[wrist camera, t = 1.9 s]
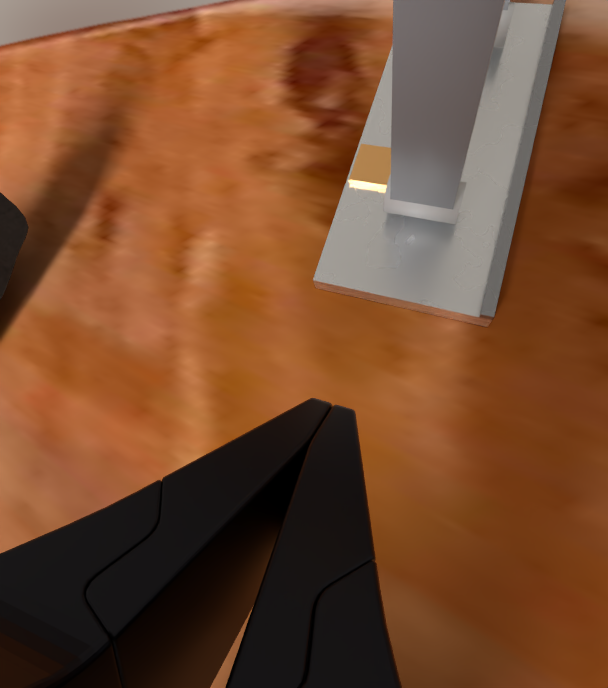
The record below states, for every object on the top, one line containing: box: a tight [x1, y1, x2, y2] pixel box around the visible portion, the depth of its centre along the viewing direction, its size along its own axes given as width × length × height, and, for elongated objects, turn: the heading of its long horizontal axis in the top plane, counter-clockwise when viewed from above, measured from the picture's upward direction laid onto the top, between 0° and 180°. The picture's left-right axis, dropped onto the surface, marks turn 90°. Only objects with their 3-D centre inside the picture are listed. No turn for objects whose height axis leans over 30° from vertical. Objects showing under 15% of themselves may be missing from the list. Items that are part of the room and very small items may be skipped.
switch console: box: [313, 0, 566, 327], centre depth 25 cm, size 20×9×1 cm, turn 162°
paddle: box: [383, 0, 505, 225], centre depth 17 cm, size 2×4×13 cm, turn 72°
